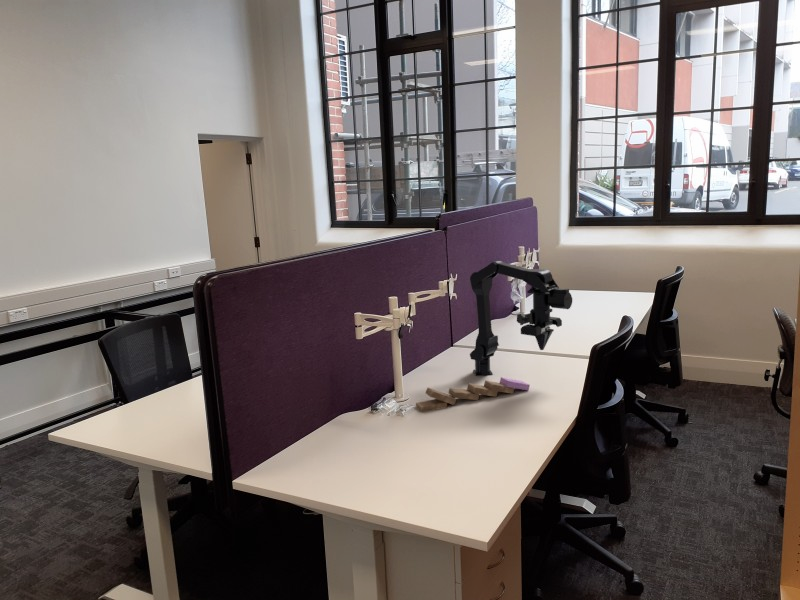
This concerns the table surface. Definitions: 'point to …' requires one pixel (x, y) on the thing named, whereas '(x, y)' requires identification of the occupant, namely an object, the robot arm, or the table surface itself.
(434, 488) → the table surface
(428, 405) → the walnut domino
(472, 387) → the walnut domino
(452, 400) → the walnut domino
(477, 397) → the walnut domino
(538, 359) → the table surface
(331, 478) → the table surface
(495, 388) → the walnut domino
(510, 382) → the plum domino
